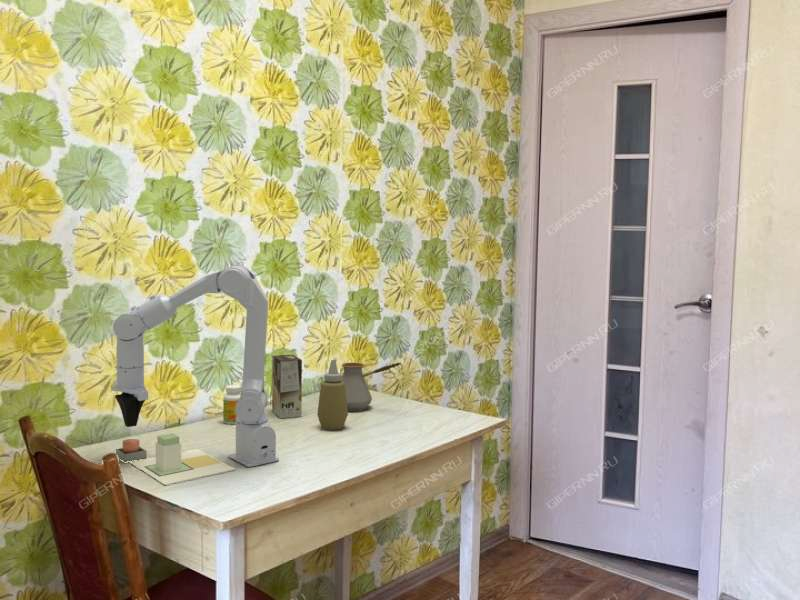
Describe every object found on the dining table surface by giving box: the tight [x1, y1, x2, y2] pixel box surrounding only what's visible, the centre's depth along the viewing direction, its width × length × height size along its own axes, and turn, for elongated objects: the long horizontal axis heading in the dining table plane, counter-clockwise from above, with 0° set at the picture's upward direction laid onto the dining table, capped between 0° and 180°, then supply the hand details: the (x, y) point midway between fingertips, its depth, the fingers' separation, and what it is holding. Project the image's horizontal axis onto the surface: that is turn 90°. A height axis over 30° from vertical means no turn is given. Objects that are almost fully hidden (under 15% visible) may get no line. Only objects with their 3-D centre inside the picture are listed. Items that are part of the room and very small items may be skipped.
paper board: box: [131, 448, 236, 486], centre depth 167 cm, size 18×16×1 cm
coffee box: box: [271, 354, 303, 419], centre depth 213 cm, size 9×6×16 cm
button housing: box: [115, 446, 147, 462], centre depth 171 cm, size 5×5×2 cm
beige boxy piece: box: [155, 433, 182, 472], centre depth 164 cm, size 4×4×7 cm
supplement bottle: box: [222, 384, 242, 425], centre depth 203 cm, size 5×5×10 cm
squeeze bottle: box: [316, 359, 349, 431], centre depth 200 cm, size 8×8×18 cm
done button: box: [122, 438, 141, 454], centre depth 171 cm, size 4×4×2 cm
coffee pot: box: [341, 362, 404, 412], centre depth 219 cm, size 21×12×15 cm, turn 65°
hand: (130, 425), depth 171 cm, fingers closed
